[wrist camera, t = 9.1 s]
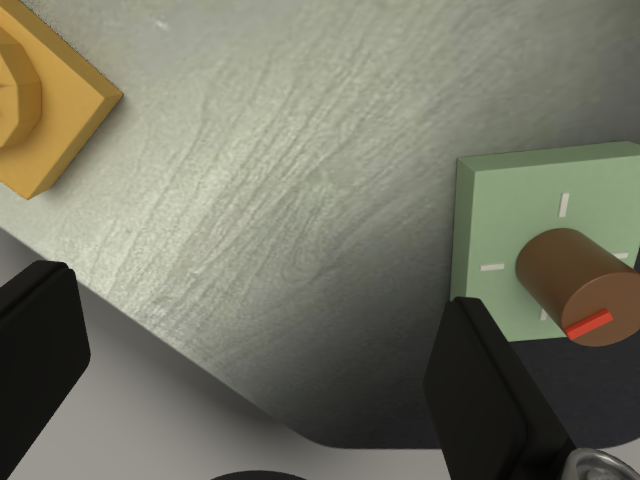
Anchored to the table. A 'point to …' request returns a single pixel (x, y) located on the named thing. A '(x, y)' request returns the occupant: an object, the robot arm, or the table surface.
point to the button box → (44, 101)
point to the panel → (538, 220)
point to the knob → (581, 286)
